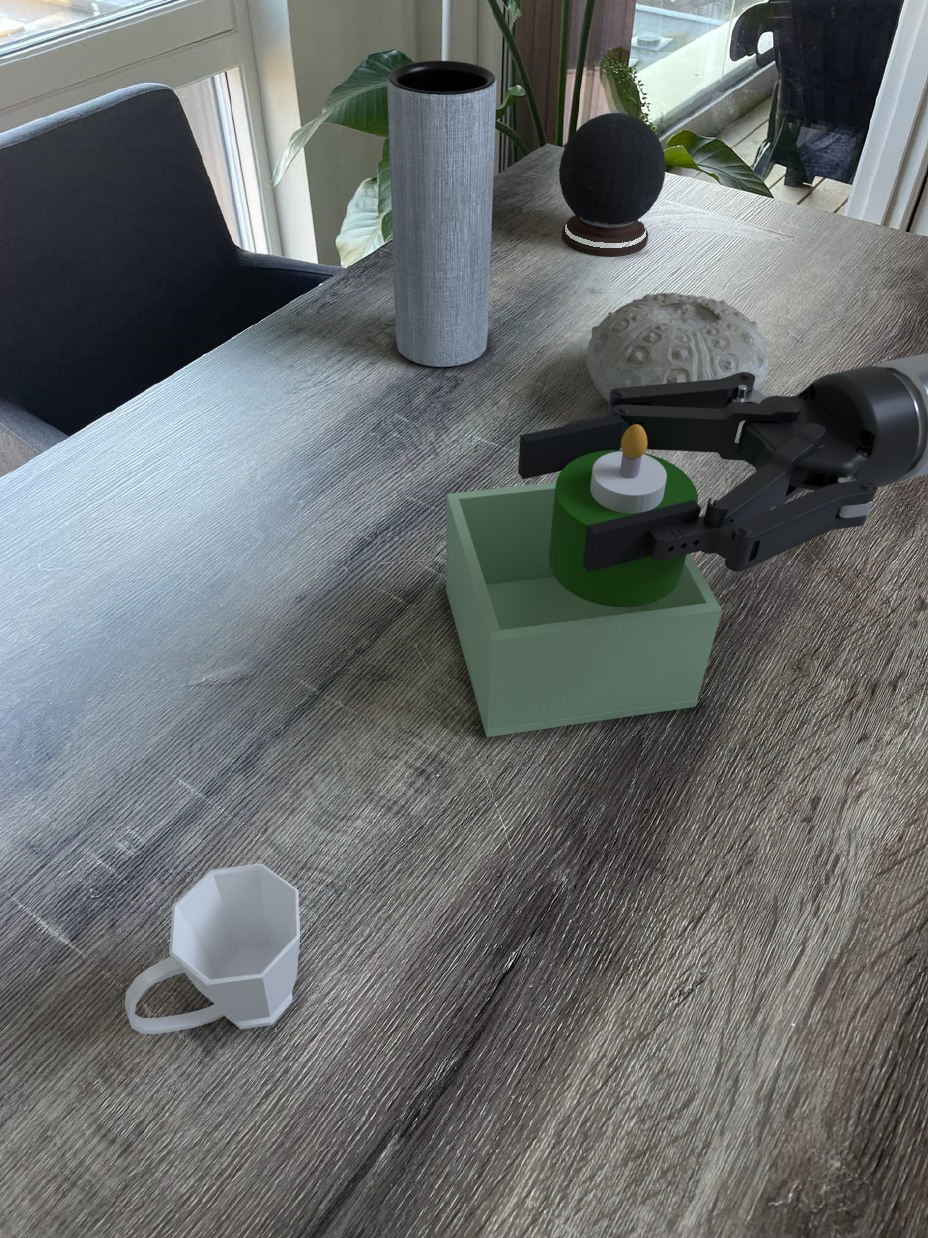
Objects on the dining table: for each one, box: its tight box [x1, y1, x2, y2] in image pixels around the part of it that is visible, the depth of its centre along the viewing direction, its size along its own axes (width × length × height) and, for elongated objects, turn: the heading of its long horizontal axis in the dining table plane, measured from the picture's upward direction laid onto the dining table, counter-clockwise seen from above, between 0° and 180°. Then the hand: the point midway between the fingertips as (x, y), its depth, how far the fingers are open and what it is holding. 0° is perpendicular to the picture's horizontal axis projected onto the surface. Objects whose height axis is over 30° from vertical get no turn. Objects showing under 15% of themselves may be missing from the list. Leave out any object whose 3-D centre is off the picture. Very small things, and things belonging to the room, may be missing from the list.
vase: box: [386, 60, 498, 368], centre depth 100 cm, size 10×10×27 cm
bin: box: [445, 481, 723, 738], centre depth 74 cm, size 16×16×10 cm
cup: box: [124, 862, 301, 1035], centre depth 53 cm, size 7×10×8 cm
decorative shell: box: [585, 292, 769, 404], centre depth 99 cm, size 18×18×10 cm
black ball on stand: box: [558, 112, 667, 258], centre depth 125 cm, size 13×13×15 cm
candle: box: [549, 424, 699, 608], centre depth 59 cm, size 8×8×10 cm
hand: (553, 500), depth 57 cm, fingers closed on candle, 8 cm apart
